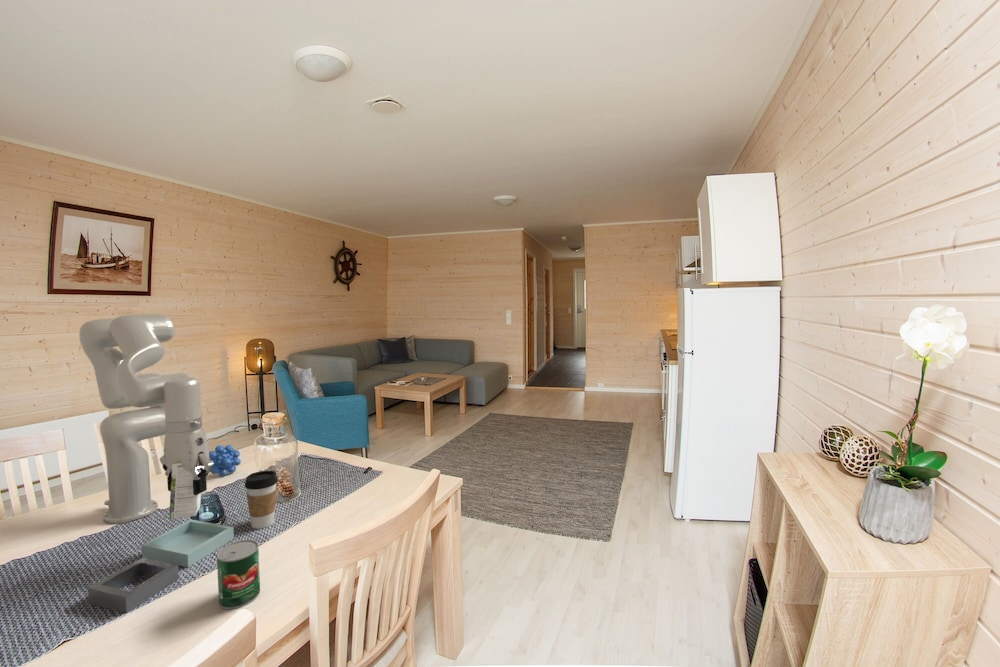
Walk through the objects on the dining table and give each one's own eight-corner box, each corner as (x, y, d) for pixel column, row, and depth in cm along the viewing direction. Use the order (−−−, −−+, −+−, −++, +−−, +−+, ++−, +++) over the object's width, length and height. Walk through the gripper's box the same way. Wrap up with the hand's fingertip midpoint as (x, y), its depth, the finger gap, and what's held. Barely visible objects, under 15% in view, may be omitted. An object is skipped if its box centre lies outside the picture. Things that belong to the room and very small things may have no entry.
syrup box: (174, 510, 111) (176, 456, 110) (201, 507, 113) (203, 454, 113) (168, 520, 105) (170, 463, 105) (197, 516, 108) (199, 461, 108)
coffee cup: (264, 533, 118) (262, 481, 117) (239, 529, 120) (237, 478, 119) (285, 518, 126) (284, 470, 125) (261, 514, 128) (259, 467, 127)
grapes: (211, 484, 148) (210, 451, 147) (203, 479, 152) (202, 447, 151) (246, 473, 158) (245, 442, 157) (237, 469, 161) (236, 439, 160)
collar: (88, 603, 90) (87, 587, 90) (143, 571, 101) (142, 557, 101) (126, 613, 88) (125, 597, 87) (178, 579, 98) (177, 565, 98)
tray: (142, 557, 106) (141, 545, 106) (191, 530, 119) (190, 519, 119) (188, 567, 103) (187, 554, 102) (233, 538, 115) (233, 527, 115)
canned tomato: (244, 580, 98) (243, 536, 97) (268, 590, 95) (266, 544, 94) (210, 603, 91) (208, 555, 90) (234, 614, 88) (232, 564, 87)
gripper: (224, 424, 110) (226, 488, 111) (172, 418, 114) (176, 481, 115) (196, 432, 102) (200, 501, 104) (143, 426, 107) (147, 493, 108)
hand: (187, 490), depth 109 cm, fingers closed on syrup box, 7 cm apart
